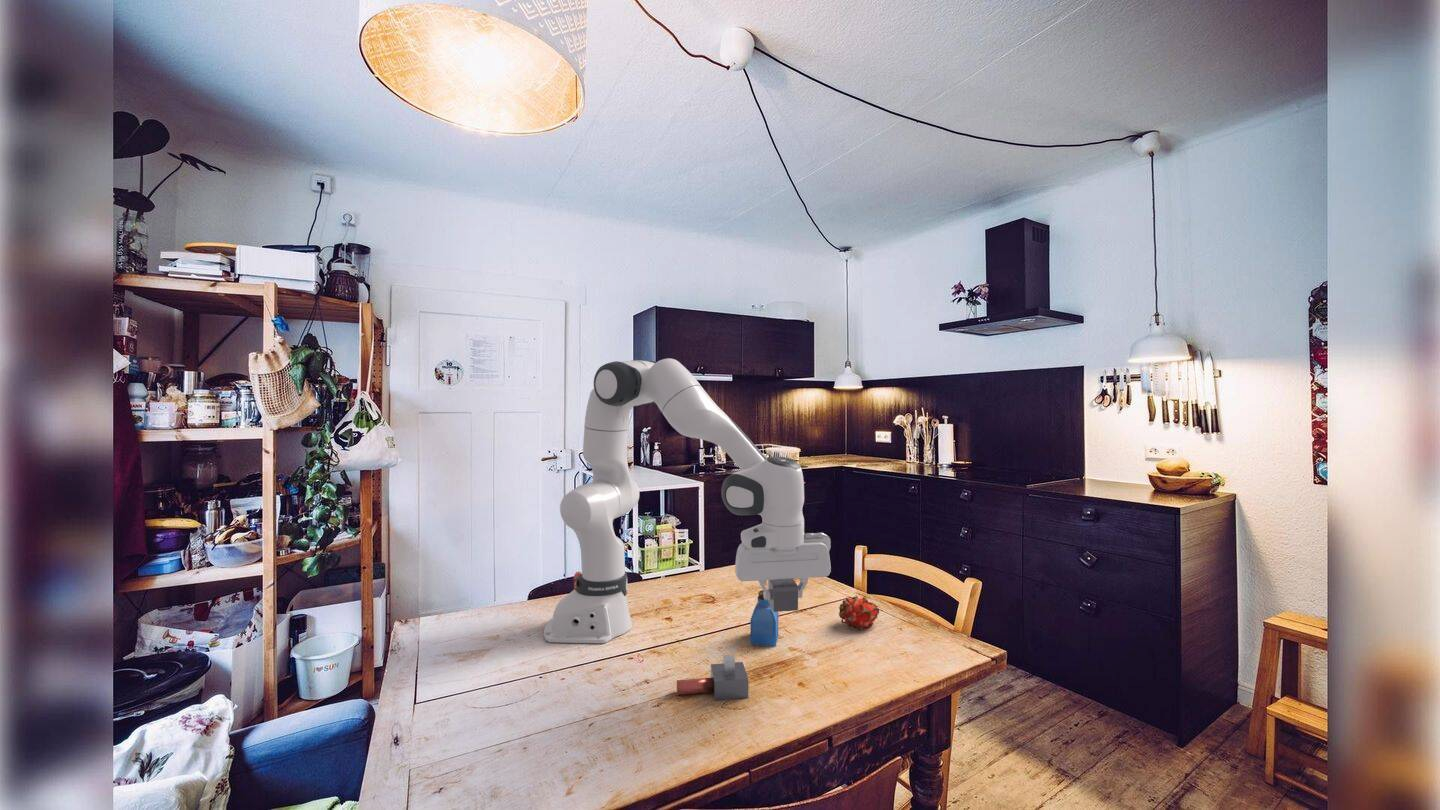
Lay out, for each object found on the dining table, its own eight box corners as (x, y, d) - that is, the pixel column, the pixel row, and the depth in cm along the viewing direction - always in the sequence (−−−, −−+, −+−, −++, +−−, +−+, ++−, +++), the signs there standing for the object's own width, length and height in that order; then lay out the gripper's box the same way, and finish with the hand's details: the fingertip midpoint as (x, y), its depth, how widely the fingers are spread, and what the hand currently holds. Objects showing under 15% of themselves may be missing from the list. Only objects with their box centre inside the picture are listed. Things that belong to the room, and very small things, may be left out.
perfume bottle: (775, 646, 142) (775, 598, 141) (750, 644, 144) (750, 596, 143) (778, 634, 148) (778, 588, 147) (754, 632, 150) (753, 587, 149)
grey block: (773, 611, 122) (773, 587, 122) (768, 601, 127) (768, 578, 127) (798, 610, 123) (798, 586, 122) (791, 600, 128) (791, 577, 127)
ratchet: (677, 703, 119) (677, 670, 118) (676, 684, 126) (675, 653, 125) (748, 697, 121) (748, 664, 120) (742, 679, 128) (742, 648, 127)
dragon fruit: (834, 633, 152) (874, 633, 155) (849, 626, 145) (891, 626, 149) (828, 600, 157) (868, 601, 160) (843, 591, 150) (884, 592, 153)
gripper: (826, 528, 128) (825, 589, 129) (733, 532, 126) (734, 594, 127) (835, 536, 122) (834, 601, 123) (738, 541, 119) (738, 606, 120)
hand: (782, 598), depth 125 cm, fingers closed on grey block, 5 cm apart
